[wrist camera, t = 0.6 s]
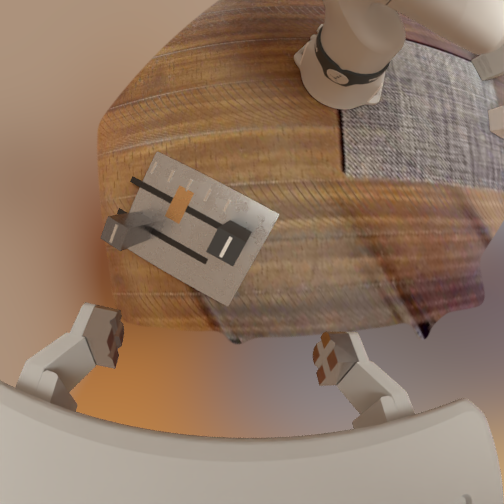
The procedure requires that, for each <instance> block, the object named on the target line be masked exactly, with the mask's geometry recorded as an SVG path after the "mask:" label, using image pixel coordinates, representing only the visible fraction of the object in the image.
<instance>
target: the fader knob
mask: <svg viewBox="0 0 504 504" xmlns="http://www.w3.org/2000/svg"><path fill="white" fill-rule="evenodd" d="M251 233H252V232H251V231H250V230H248V229H246V228H244V227H242V226H240V225H239V224H237V223H235V222H233V221H231V220H229V221H228V222H226V223H225V224H223V225H221V226H220V227H218V229H217V231H216V233H215V235H214V237H213V239H212V241H211V243H210V245H209V247H208V249H207V251H206V252H207V253H209V254H211V255H213V256H215V257H216V258H218V259H220V260H222V261H224V262H225V263H227V264H229V265H231V266H234V264H235V262H236V260H237V259H238V257H239V255H240V253H241V251H242V249H243V248H244V246H245V244H246V242H247V240H248V238H249V237H250V235H251Z"/></svg>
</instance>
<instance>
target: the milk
mask: <svg viewBox="0 0 504 504" xmlns="http://www.w3.org/2000/svg"><path fill="white" fill-rule="evenodd" d="M488 115H489V127H490V132H492V133H494V134H496V135H498V136H499V137H501V138H503V139H504V106H500V107H497V108H494V109H491V110H488Z"/></svg>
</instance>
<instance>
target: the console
mask: <svg viewBox="0 0 504 504" xmlns="http://www.w3.org/2000/svg"><path fill="white" fill-rule="evenodd" d="M130 182H131V183H133V184H135V185H137V186H139V187H140V188H139V191H138V193H137V195H136V197H135V200H134V202H133V205H132V207H131V209H130V212H129V213H127V212H125V211H123V210H122V209H120V208H119V210H118V213H117V214H119V215H113V216H108V218H107V221H106V224H105V227H104V230H103V233H102V236H101V239H102V240H104V241H106V242H107V243H109V244H110V245H112V246H113V247H115V248H116V249H118V250H119V251H122V250H124V249H129V250H130V251H132V252H133V253H135V254H137V255H138V256H140V257H142V258H143V259H145V260H146V261H148V262H150V263H151V264H153V265H155V266H156V267H158V268H160V269H162V270H163V271H165V272H167V273H168V274H170V275H172V276H174V277H175V278H177V279H179V280H180V281H182V282H184V283H186V284H187V285H189V286H191V287H193V288H195V289H196V290H198V291H200V292H202V293H204V294H205V295H207V296H209V297H211V298H213V299H214V300H216V301H218V302H220V303H222V304H224V305H226V306H229V304H230V302H231V300H232V299H233V297H234V295H235V293H236V292H237V290H238V288H239V286H240V285H241V283H242V281H243V279H244V277H245V276H246V274H247V272H248V270H249V269H250V267H251V265H252V263H253V261H254V260H255V258H256V256H257V254H258V253H259V251H260V249H261V247H262V245H263V244H264V242H265V240H266V238H267V236H268V235H269V233H270V231H271V229H272V228H273V226H274V224H275V222H276V220H277V219H278V217H279V215H280V214H278V213H277V212H275V211H273V210H271V209H269V208H268V207H266V206H264V205H262V204H260V203H258V202H257V201H255V200H253V199H251V198H249V197H247V196H245V195H244V194H242V193H240V192H238V191H236V190H234V189H232V188H230V187H228V186H226V185H225V184H223V183H221V182H219V181H217V180H215V179H213V178H211V177H209V176H207V175H205V174H203V173H201V172H199V171H197V170H195V169H193V168H191V167H189V166H187V165H185V164H183V163H181V162H179V161H177V160H175V159H173V158H171V157H169V156H167V155H165V154H163V153H160V152H156V154H155V156H154V158H153V160H152V162H151V164H150V167H149V169H148V171H147V173H146V175H145V177H144V179H143V181H141V180H139V179H137V178H135V177H132V179H131V181H130ZM229 220H231V221H233V222H235V223H237V224H239V225H240V226H242V227H244V228H246V229H248V230H250V231H251V232H252V233H251V235H250V237H249V238H248V240H247V242H246V244H245V246H244V248H243V249H242V251H241V253H240V255H239V257H238V259H237V260H236V262H235V264H234V266H231V265H229V264H227V263H225V262H224V261H222V260H220V259H218V258H216V257H215V256H213V255H211V254H209V253H207V252H206V251H207V249H208V247H209V245H210V243H211V241H212V239H213V237H214V235H215V233H216V231H217V229H218V227H220V226H221V225H223V224H225V223H226V222H228V221H229Z"/></svg>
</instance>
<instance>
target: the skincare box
mask: <svg viewBox="0 0 504 504" xmlns="http://www.w3.org/2000/svg"><path fill="white" fill-rule="evenodd" d="M471 61H472V63H473V65H474V67H475V68H476V70H477V72H478V74H479V76H480V78H481V80H482V81H484V80H489V79H494V78H497V77H499V76H501V75H504V44H503V45H502V46H501V47H500V48H499V49H497V50H496V51H493V52H491V53H487V54H481V55H480V56H478V57H476V58H474V59H472V60H471Z"/></svg>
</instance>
